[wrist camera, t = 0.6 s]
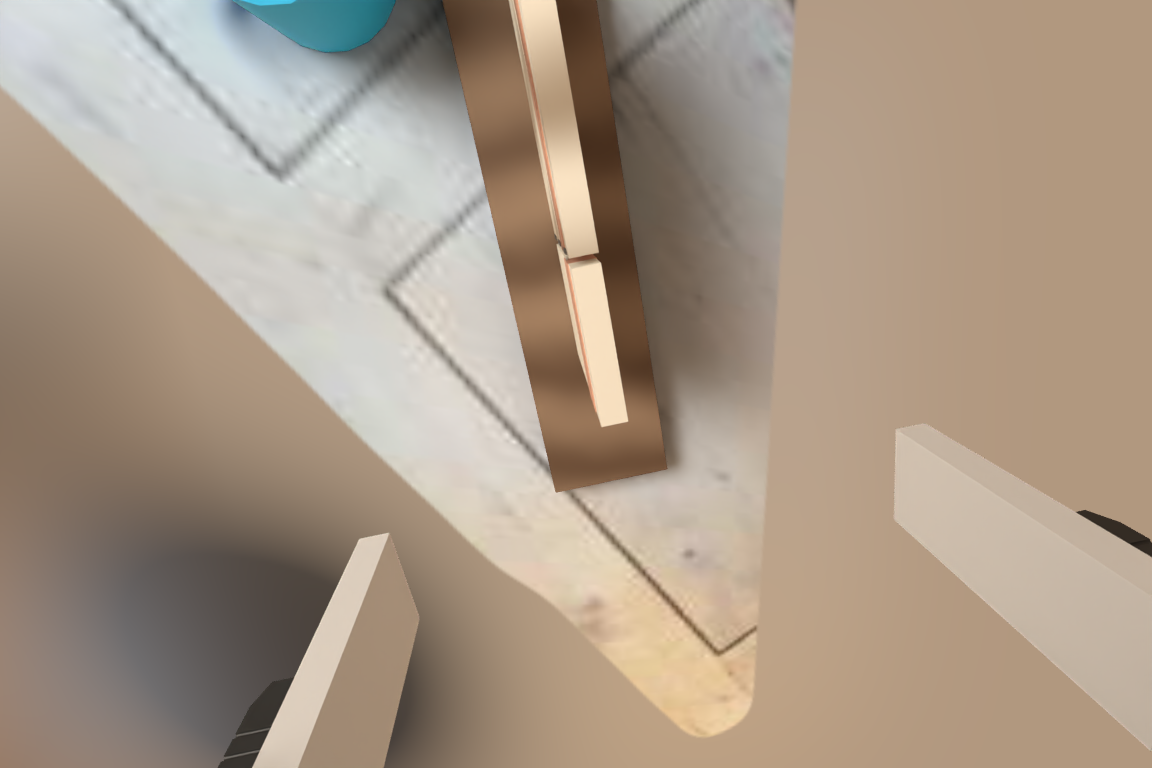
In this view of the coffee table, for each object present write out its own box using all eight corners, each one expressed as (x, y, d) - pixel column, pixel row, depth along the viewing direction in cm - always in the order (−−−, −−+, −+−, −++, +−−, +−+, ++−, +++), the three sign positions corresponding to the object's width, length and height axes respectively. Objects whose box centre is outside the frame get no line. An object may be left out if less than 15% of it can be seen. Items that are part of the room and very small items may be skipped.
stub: (555, 244, 33) (570, 269, 22) (576, 239, 34) (602, 262, 22) (577, 354, 36) (600, 427, 24) (597, 349, 36) (629, 421, 24)
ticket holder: (437, -32, 30) (368, -208, 17) (581, -60, 30) (622, -256, 17) (554, 478, 41) (567, 614, 28) (660, 456, 41) (724, 580, 28)
